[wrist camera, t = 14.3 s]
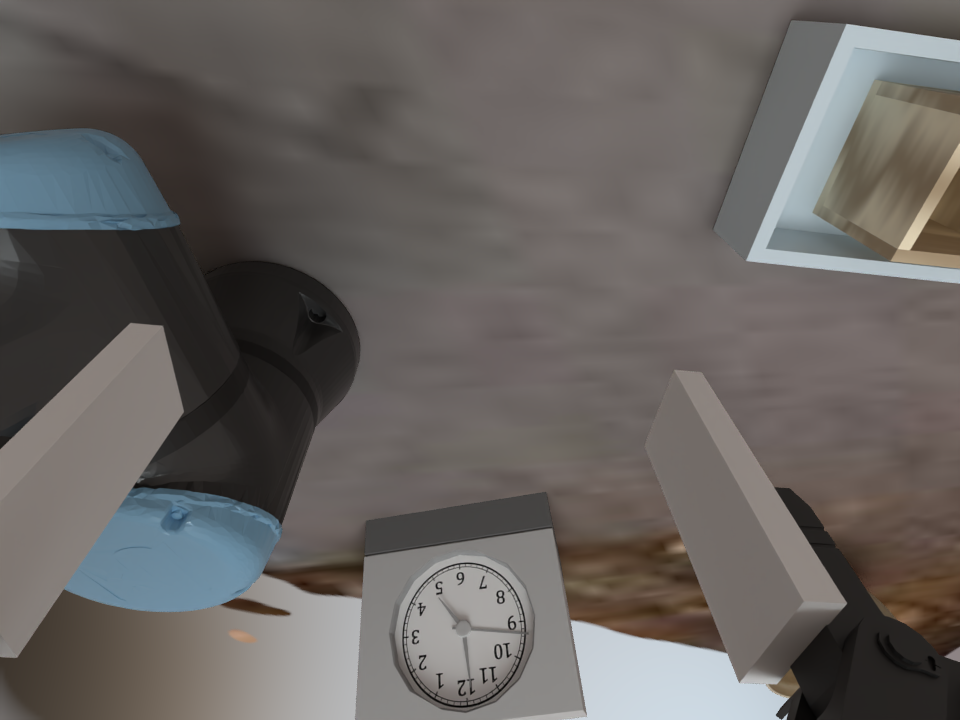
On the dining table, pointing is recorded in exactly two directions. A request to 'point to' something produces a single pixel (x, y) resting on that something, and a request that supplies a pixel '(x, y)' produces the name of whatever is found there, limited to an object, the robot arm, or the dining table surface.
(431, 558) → the alarm clock
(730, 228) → the light blue crate
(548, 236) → the dining table surface
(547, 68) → the dining table surface
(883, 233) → the birch crate
